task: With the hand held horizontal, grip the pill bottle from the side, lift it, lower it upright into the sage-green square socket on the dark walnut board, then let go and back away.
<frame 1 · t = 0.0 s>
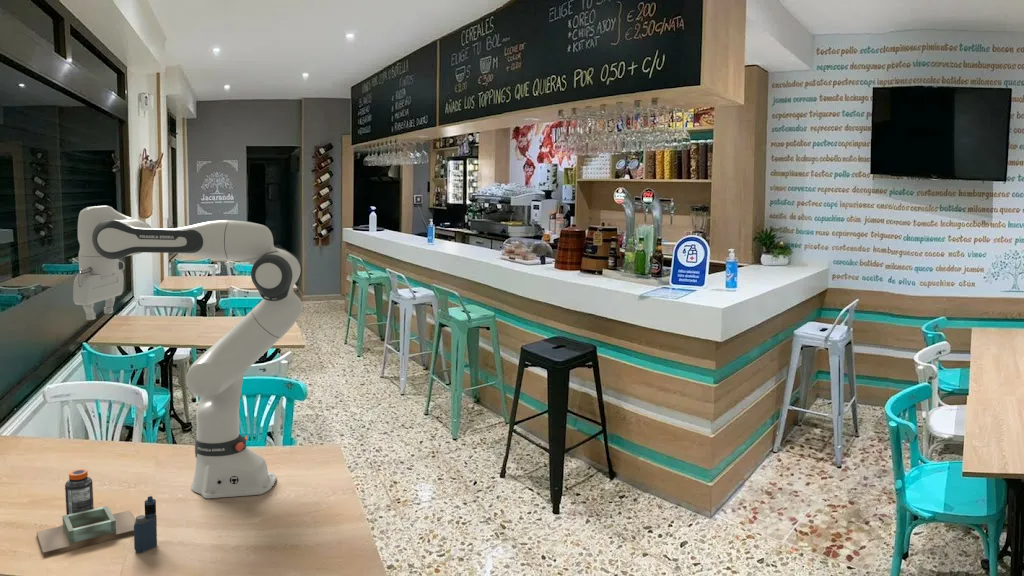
hand: (100, 316, 190), 48 cm above the table, tool pointing down, fingers open, 8 cm apart
socket board: (89, 533, 169), on the table
pill bottle: (80, 514, 179), on the table
vaping device: (146, 548, 163), on the table
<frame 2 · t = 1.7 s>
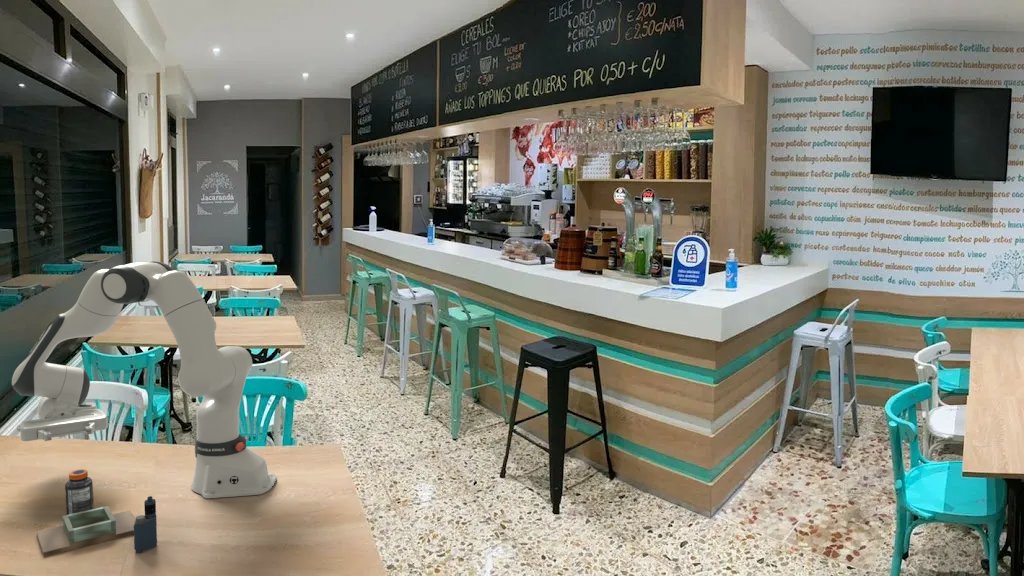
hand: (69, 434, 185), 17 cm above the table, tool horizontal, fingers open, 8 cm apart
nothing on the table moved.
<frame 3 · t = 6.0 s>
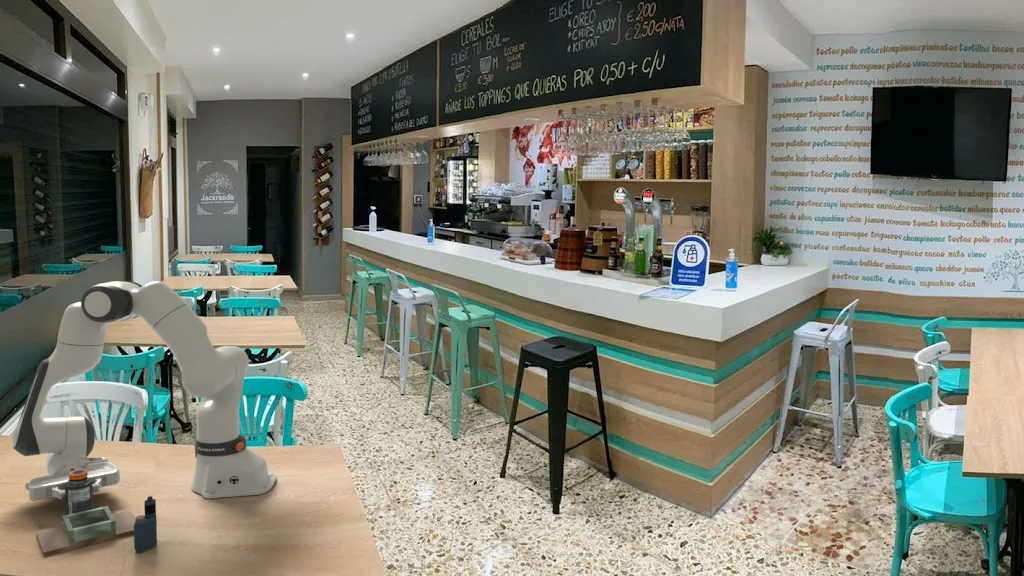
hand: (79, 492, 177), 6 cm above the table, tool horizontal, fingers closed on pill bottle, 6 cm apart
pill bottle: (80, 514, 179), on the table, touching gripper
everything else where it was.
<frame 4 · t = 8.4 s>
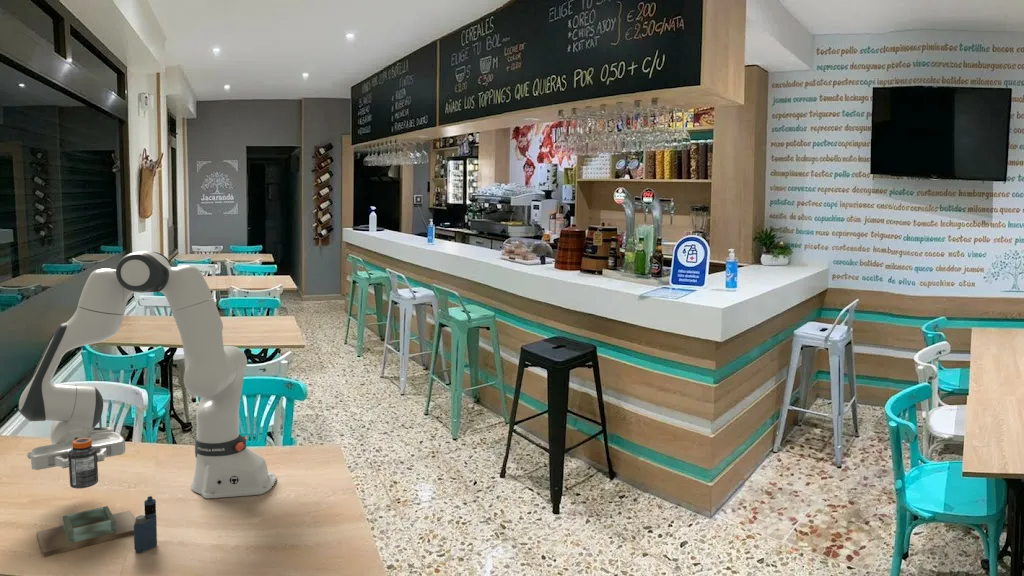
hand: (83, 461, 170), 17 cm above the table, tool horizontal, fingers closed on pill bottle, 6 cm apart
pill bottle: (84, 485, 171), point 10 cm above the table, touching gripper
everything else where it was.
when the fingers open (8 cm above the table, at t = 11.4 s): pill bottle drops 1 cm, resting on socket board.
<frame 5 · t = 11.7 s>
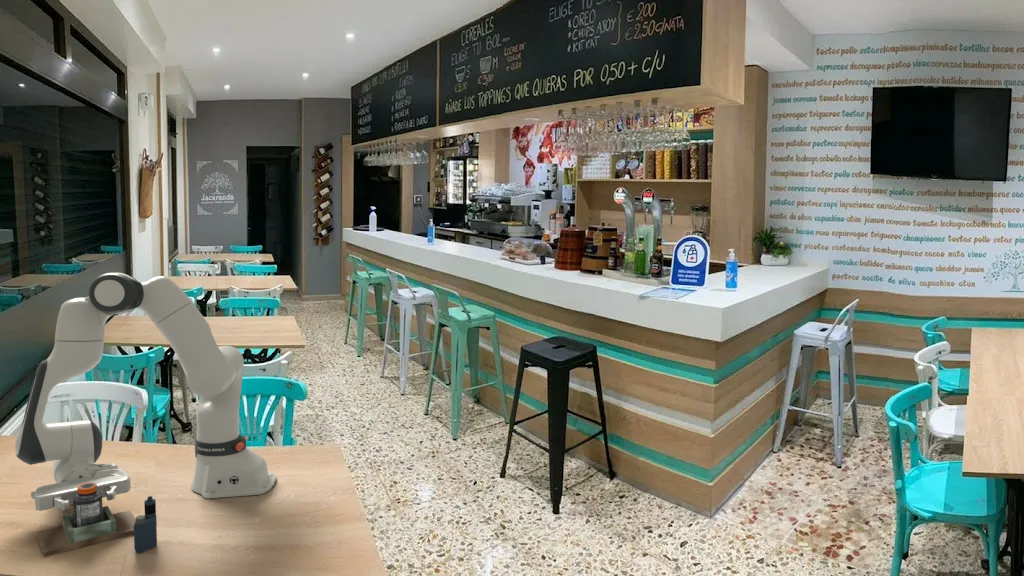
hand: (88, 501, 167), 8 cm above the table, tool horizontal, fingers open, 8 cm apart
pill bottle: (89, 530, 169), point 1 cm above the table, touching socket board
everything else where it was.
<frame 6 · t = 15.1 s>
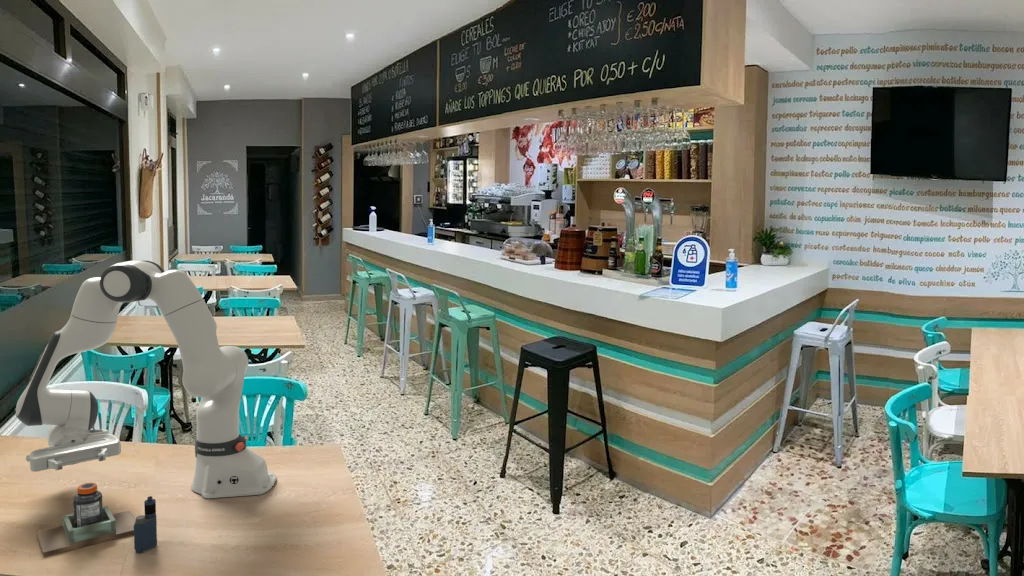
hand: (81, 462, 176), 14 cm above the table, tool horizontal, fingers open, 8 cm apart
nothing on the table moved.
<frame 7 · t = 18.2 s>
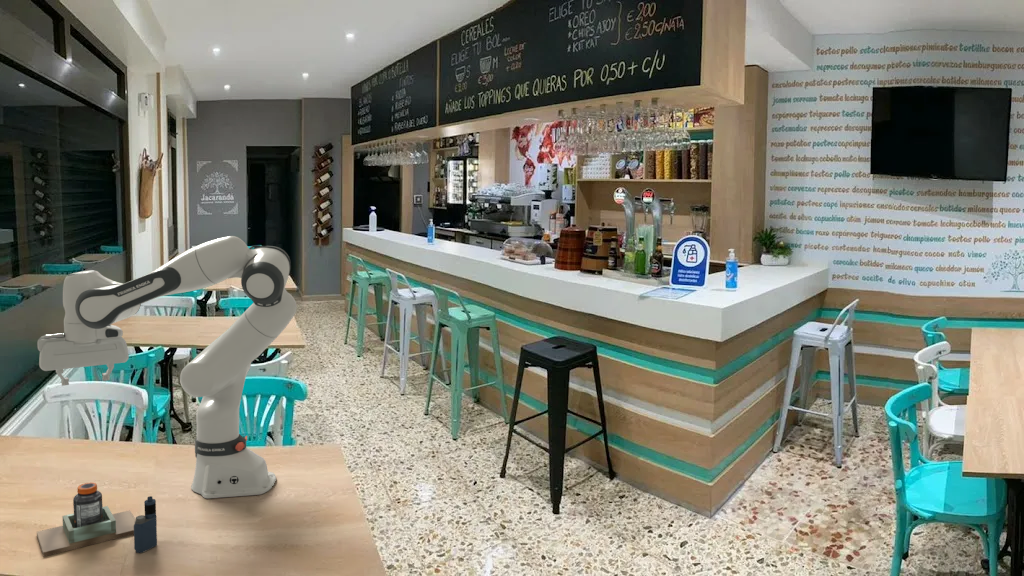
hand: (86, 382, 186), 31 cm above the table, tool pointing down, fingers open, 8 cm apart
nothing on the table moved.
at the end: pill bottle 0.1 cm off-centre on the socket board, point 0.8 cm above the socket board's base; pill bottle tilted 0°; the gripper is holding nothing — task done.
